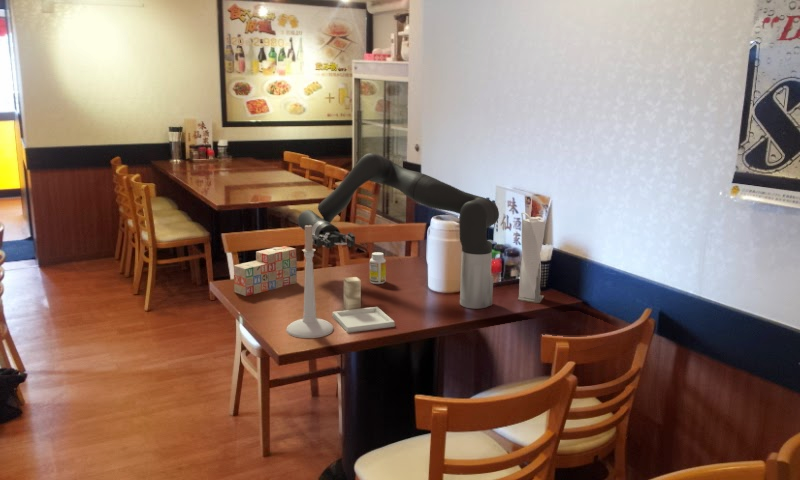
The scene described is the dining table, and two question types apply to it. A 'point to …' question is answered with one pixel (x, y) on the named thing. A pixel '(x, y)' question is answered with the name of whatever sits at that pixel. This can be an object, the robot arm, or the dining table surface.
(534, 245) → the skyscraper
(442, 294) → the dining table surface
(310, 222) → the robot arm
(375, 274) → the supplement bottle
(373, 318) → the tray
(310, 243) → the candlestick
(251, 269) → the stack of blocks
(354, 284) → the block
